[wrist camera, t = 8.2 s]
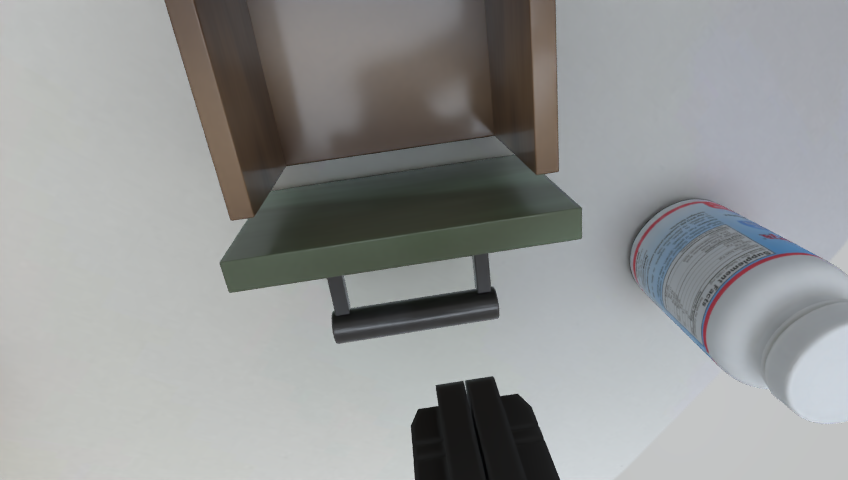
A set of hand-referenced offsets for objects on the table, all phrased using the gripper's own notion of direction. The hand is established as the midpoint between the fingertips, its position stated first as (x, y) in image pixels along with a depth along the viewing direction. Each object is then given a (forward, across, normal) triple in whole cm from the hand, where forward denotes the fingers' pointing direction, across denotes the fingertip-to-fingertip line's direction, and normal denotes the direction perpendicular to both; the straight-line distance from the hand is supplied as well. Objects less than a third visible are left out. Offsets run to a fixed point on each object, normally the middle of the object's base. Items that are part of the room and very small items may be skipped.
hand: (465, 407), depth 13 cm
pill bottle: (+15, -14, +4) cm, 21 cm away
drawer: (+13, +1, -7) cm, 15 cm away
